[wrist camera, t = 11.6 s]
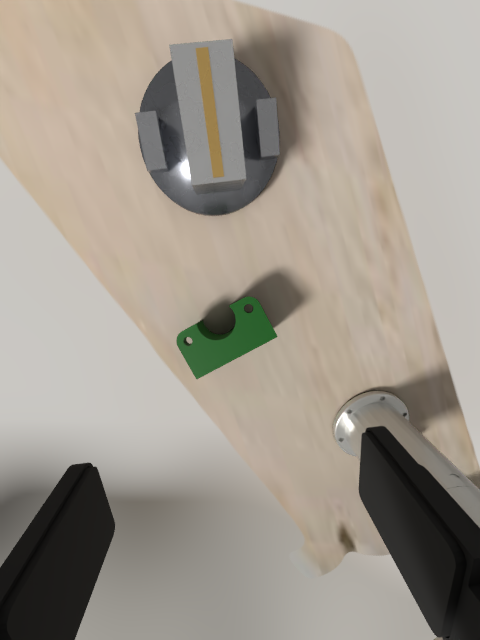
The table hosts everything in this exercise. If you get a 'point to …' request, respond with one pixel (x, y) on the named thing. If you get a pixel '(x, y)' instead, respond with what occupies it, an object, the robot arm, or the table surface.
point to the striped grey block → (210, 114)
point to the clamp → (225, 339)
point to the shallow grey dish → (170, 150)
